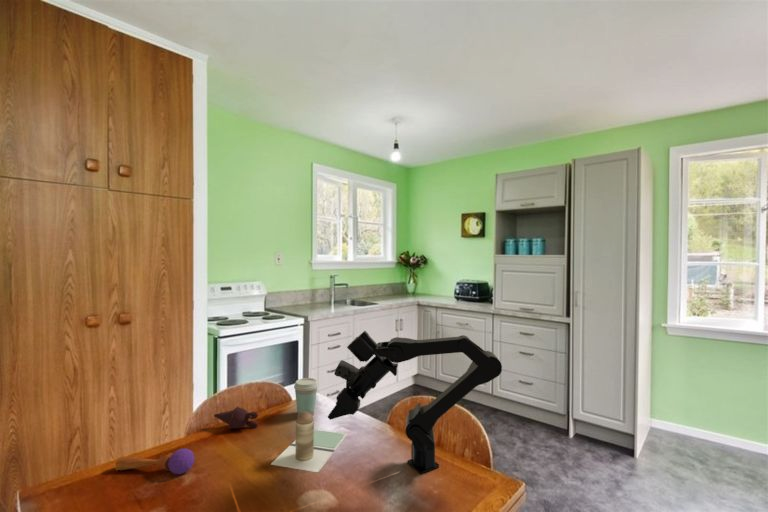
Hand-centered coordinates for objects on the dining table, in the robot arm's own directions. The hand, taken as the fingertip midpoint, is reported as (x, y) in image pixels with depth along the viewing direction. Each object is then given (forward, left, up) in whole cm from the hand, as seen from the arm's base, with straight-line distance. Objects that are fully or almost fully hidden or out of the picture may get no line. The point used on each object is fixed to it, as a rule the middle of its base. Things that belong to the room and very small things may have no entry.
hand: (332, 411), depth 104 cm
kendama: (+19, +42, -14) cm, 49 cm away
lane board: (+8, +3, -14) cm, 16 cm away
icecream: (+34, +19, -14) cm, 42 cm away
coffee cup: (+33, -4, -14) cm, 36 cm away
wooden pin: (+5, +6, -13) cm, 15 cm away
